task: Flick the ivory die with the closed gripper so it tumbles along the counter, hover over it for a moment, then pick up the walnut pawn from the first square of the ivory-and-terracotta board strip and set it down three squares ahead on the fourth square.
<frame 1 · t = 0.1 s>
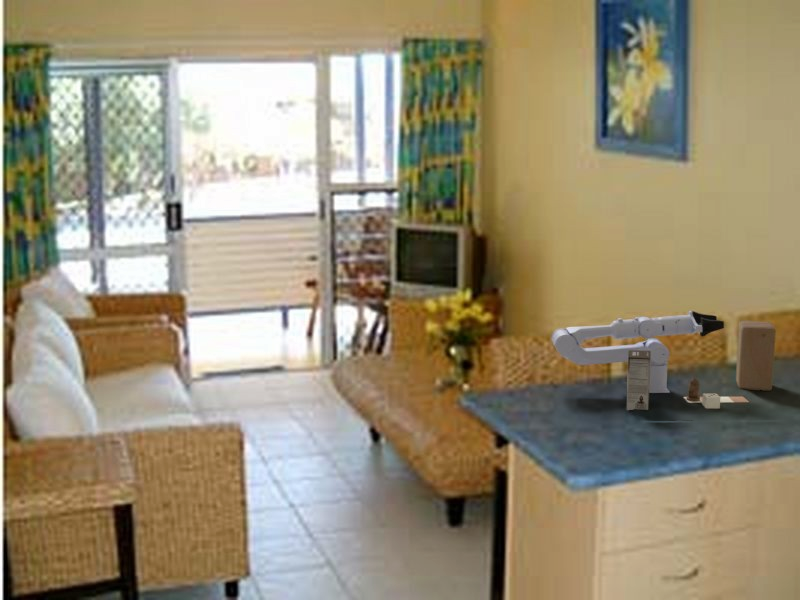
hand: (719, 321, 341), 22 cm above the worktop, tool horizontal, fingers open, 7 cm apart
board: (715, 401, 334), on the worktop
coffee box: (637, 407, 328), on the worktop
wooden block: (753, 387, 350), on the worktop
die: (710, 408, 327), on the worktop
pawn: (693, 399, 333), point 1 cm above the worktop, touching board
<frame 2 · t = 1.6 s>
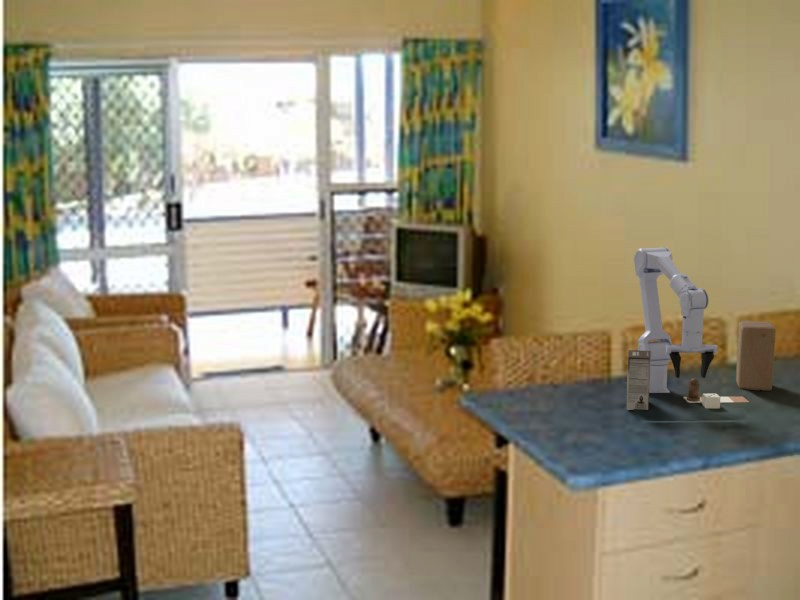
hand: (690, 377, 325), 9 cm above the worktop, tool pointing down, fingers open, 7 cm apart
nothing on the worktop moved.
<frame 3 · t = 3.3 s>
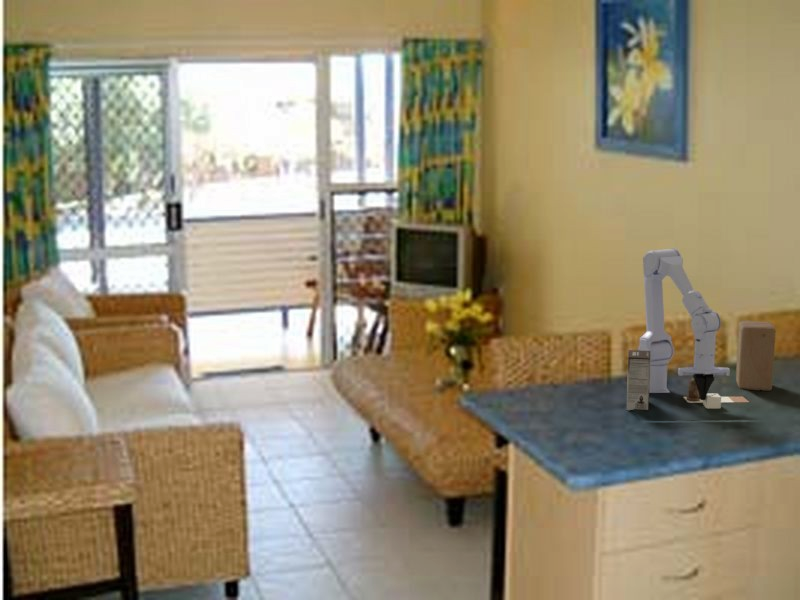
hand: (702, 399, 326), 3 cm above the worktop, tool pointing down, fingers closed
die: (711, 408, 327), on the worktop, touching gripper
everything else where it was.
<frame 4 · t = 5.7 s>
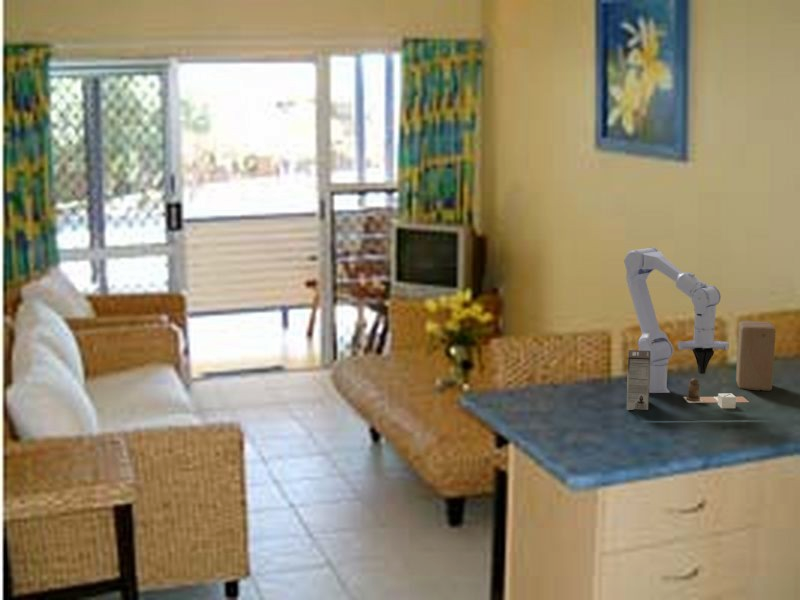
hand: (701, 372, 330), 9 cm above the worktop, tool pointing down, fingers closed
die: (726, 408, 327), on the worktop
everything else where it was.
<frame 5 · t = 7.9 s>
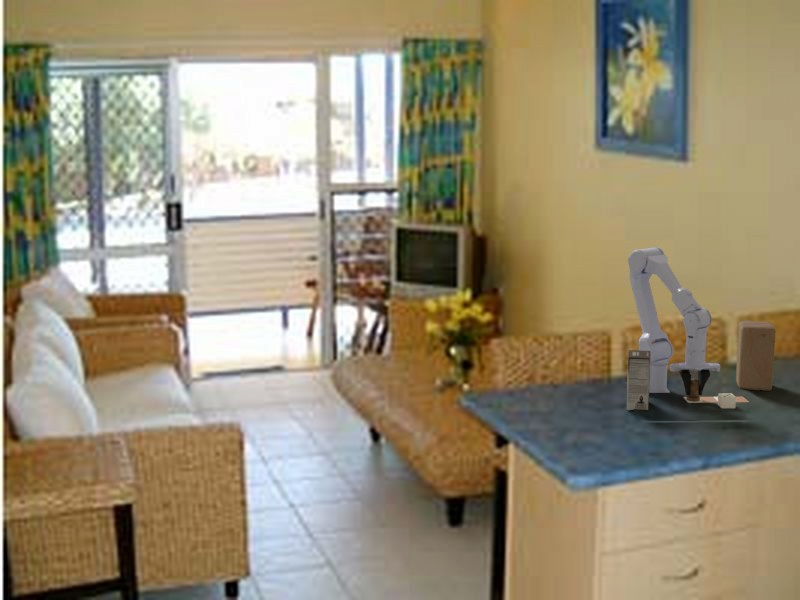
hand: (693, 394, 333), 2 cm above the worktop, tool pointing down, fingers closed on pawn, 3 cm apart
pawn: (693, 399, 333), point 1 cm above the worktop, touching board, gripper
everything else where it was.
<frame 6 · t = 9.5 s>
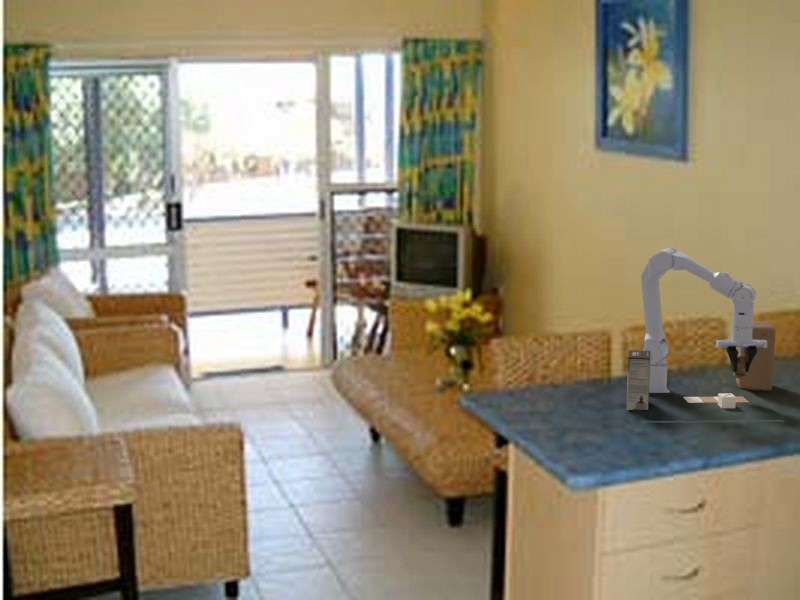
hand: (740, 371, 332), 9 cm above the worktop, tool pointing down, fingers closed on pawn, 3 cm apart
pawn: (739, 376, 332), point 8 cm above the worktop, touching gripper
everything else where it was.
when the fingers open (3 cm above the worktop, at t = 10.9 s): pawn drops 1 cm, resting on board.
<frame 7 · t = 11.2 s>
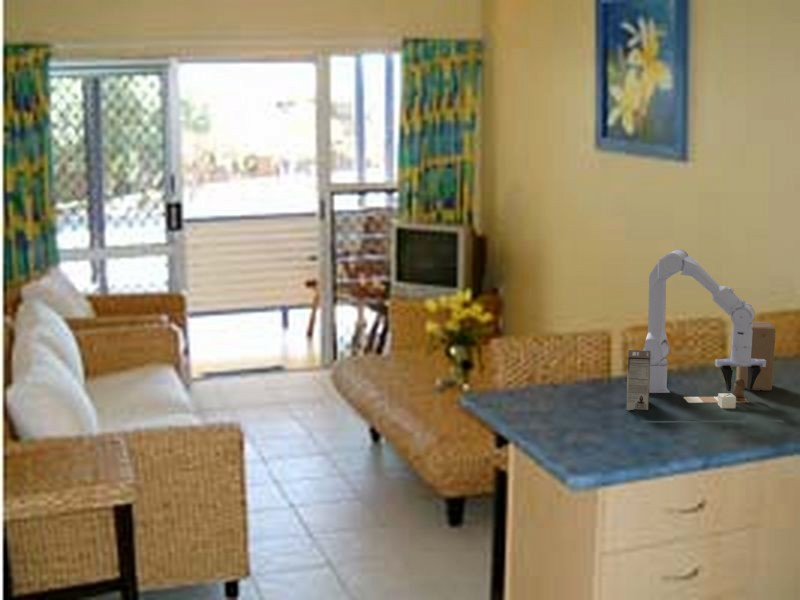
hand: (739, 390, 333), 3 cm above the worktop, tool pointing down, fingers open, 6 cm apart
pawn: (738, 399, 334), point 1 cm above the worktop, touching board
everything else where it was.
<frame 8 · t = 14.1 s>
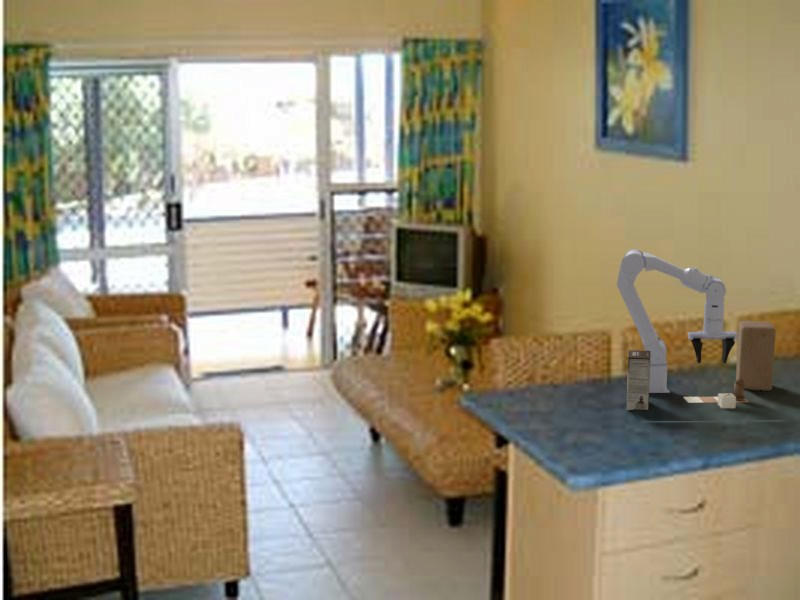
hand: (711, 362, 340), 10 cm above the worktop, tool pointing down, fingers open, 7 cm apart
nothing on the worktop moved.
at the end: pawn 0.1 cm from the target spot, point 0.6 cm above the worktop; pawn tilted 0°; die moved 4.5 cm from its start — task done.
